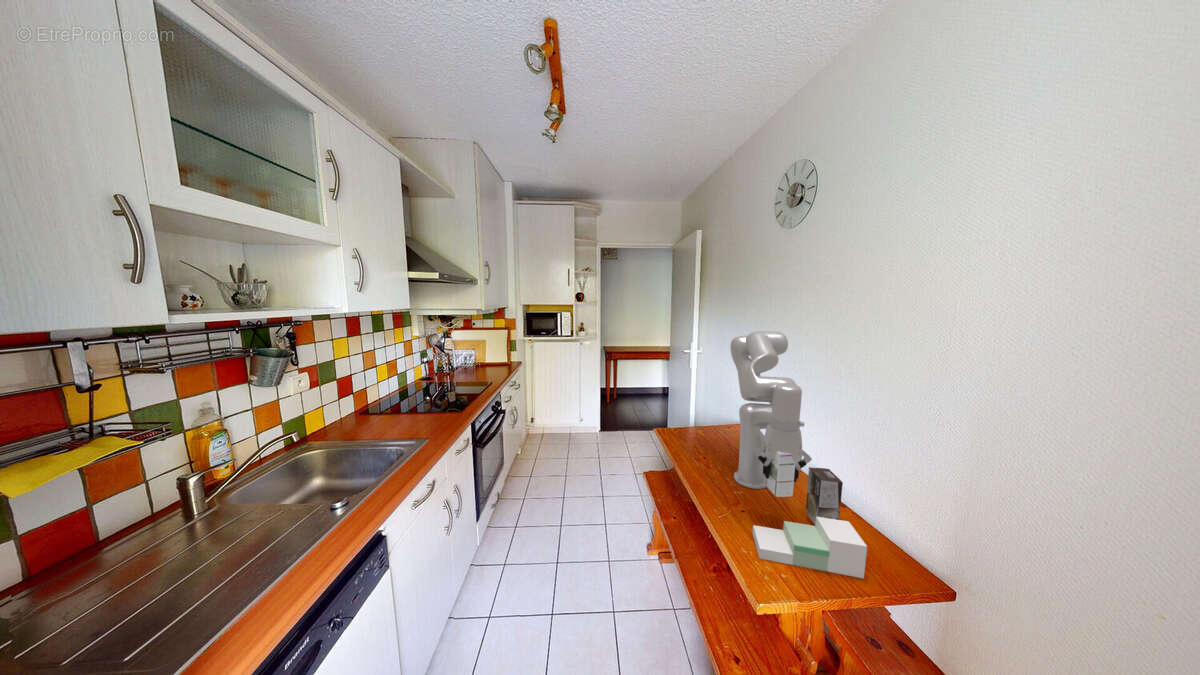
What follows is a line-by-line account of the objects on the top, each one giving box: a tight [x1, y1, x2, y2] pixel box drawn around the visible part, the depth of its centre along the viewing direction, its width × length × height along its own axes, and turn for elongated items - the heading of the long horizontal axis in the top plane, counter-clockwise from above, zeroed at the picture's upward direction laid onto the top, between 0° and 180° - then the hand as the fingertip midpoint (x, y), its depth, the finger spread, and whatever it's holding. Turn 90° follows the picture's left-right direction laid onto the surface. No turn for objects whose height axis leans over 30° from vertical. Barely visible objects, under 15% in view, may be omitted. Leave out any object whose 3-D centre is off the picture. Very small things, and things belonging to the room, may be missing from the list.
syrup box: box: [766, 452, 795, 498], centre depth 103 cm, size 6×6×14 cm
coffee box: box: [805, 467, 844, 525], centre depth 107 cm, size 9×6×16 cm
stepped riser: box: [752, 517, 868, 579], centre depth 93 cm, size 10×25×9 cm, turn 75°
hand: (779, 477), depth 103 cm, fingers closed on syrup box, 7 cm apart
